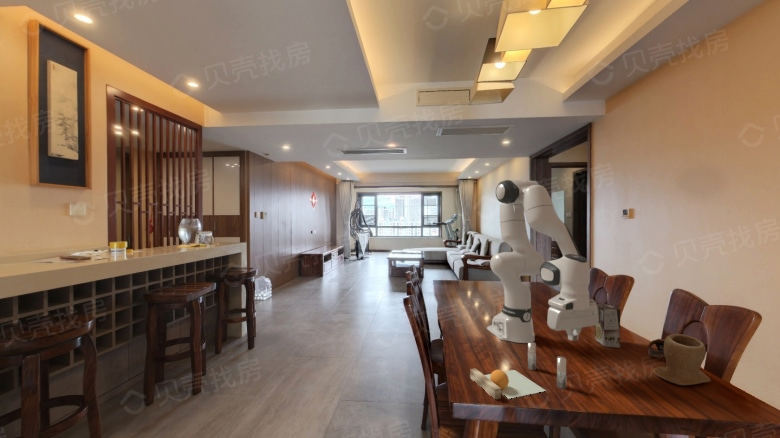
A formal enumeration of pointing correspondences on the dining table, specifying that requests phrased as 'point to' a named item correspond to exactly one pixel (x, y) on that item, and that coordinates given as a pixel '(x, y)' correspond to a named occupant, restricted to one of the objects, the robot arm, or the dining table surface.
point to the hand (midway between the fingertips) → (573, 339)
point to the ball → (499, 379)
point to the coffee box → (608, 325)
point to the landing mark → (519, 385)
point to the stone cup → (683, 360)
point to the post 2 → (561, 372)
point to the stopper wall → (485, 383)
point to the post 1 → (531, 355)
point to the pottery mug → (660, 345)
